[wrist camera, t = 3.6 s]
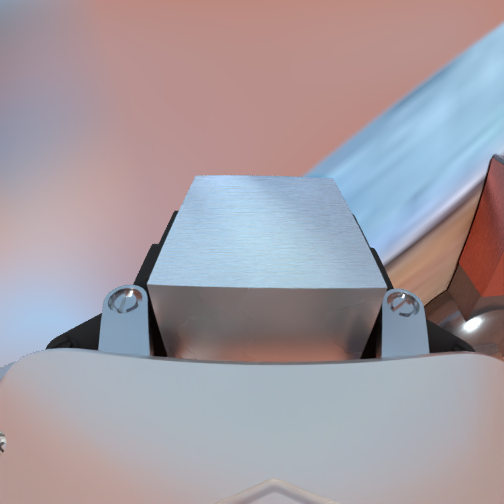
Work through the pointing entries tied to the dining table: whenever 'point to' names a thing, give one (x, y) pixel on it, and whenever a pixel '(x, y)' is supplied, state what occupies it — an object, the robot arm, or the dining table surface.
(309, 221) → the brushed aluminum cube
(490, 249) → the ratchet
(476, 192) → the dining table surface
